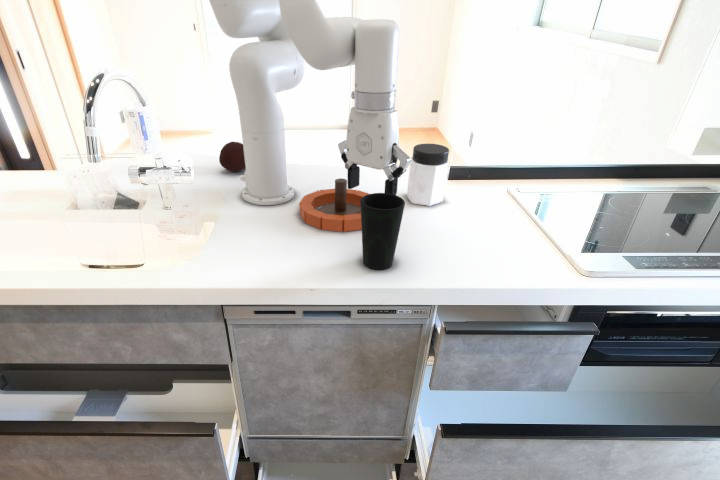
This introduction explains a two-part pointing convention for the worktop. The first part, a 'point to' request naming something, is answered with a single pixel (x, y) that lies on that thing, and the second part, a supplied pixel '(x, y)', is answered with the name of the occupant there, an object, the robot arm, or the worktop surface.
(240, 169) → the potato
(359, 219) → the ring
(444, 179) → the jar
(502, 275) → the worktop surface
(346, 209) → the stand
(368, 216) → the cup
